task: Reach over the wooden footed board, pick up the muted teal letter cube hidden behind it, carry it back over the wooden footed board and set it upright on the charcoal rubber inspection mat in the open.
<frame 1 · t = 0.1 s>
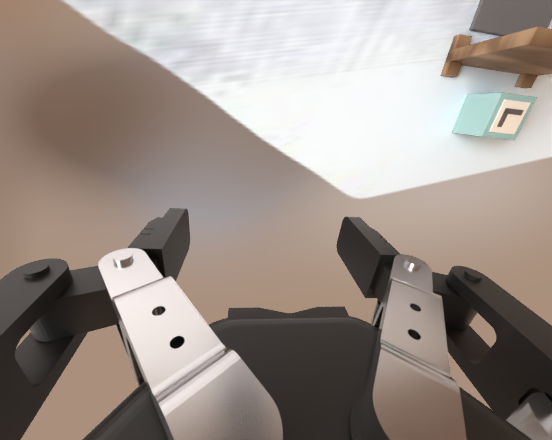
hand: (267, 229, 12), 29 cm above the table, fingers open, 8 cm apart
letter cube: (473, 115, 40), on the table
wooden footed board: (491, 63, 36), on the table
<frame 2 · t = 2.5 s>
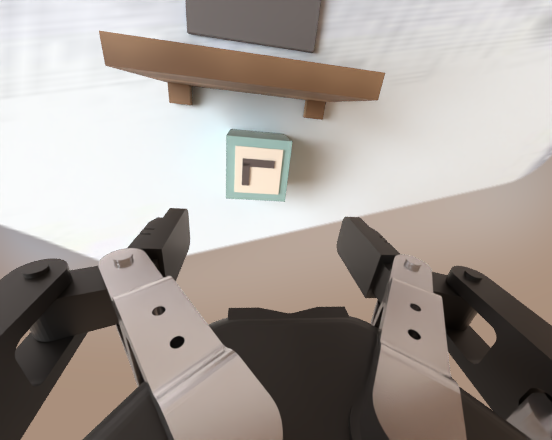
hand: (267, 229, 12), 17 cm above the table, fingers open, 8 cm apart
letter cube: (255, 158, 27), on the table
wooden footed board: (250, 84, 24), on the table
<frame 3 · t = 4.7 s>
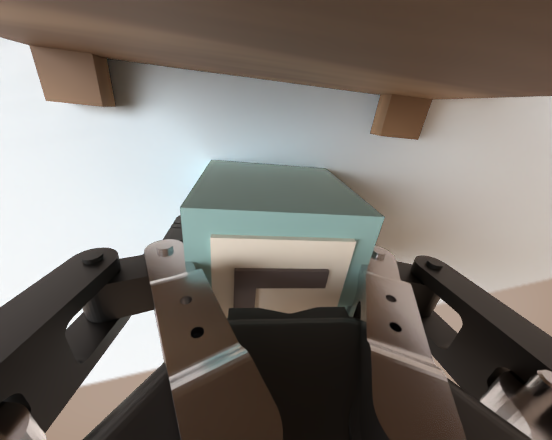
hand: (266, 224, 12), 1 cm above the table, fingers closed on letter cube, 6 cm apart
letter cube: (265, 216, 13), on the table, touching gripper
wooden footed board: (256, 57, 10), on the table
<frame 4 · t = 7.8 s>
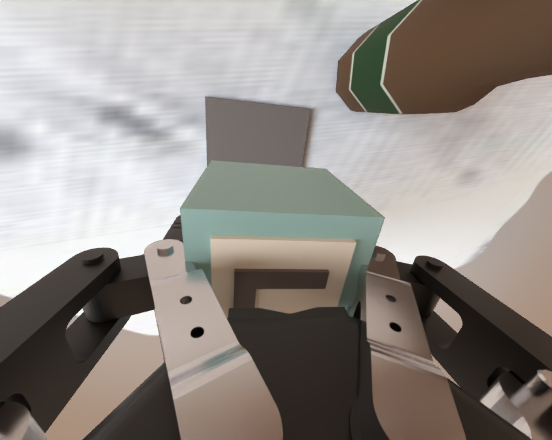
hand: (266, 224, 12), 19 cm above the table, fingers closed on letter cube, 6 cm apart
beer bottle: (364, 76, 27), on the table
letter cube: (265, 216, 13), point 18 cm above the table, touching gripper
inspection mat: (256, 155, 29), on the table
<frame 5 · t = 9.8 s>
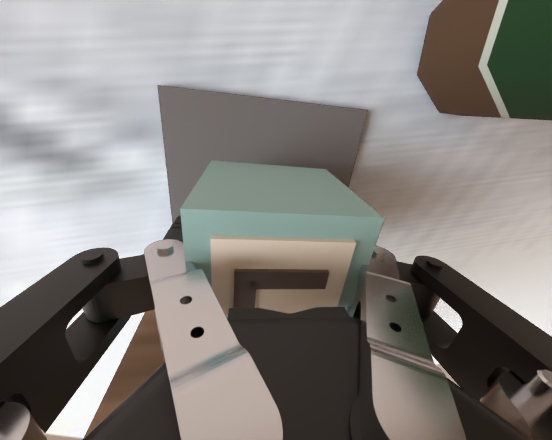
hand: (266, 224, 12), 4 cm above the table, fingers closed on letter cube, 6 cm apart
beer bottle: (472, 47, 14), on the table
letter cube: (265, 216, 13), point 3 cm above the table, touching gripper
inspection mat: (261, 194, 16), on the table
wooden footed board: (253, 294, 20), on the table
when the fingers open (3 cm above the table, at t = 11.1 s): letter cube drops 1 cm, resting on inspection mat.
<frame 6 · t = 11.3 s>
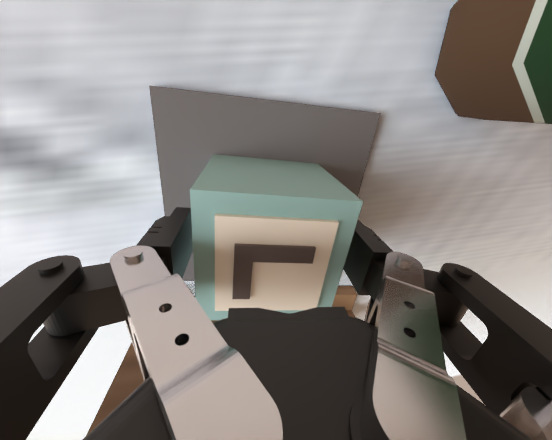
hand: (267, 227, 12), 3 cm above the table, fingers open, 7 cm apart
beer bottle: (495, 44, 13), on the table
letter cube: (263, 207, 14), point 1 cm above the table, touching inspection mat
inspection mat: (263, 203, 15), on the table
wooden footed board: (254, 308, 19), on the table
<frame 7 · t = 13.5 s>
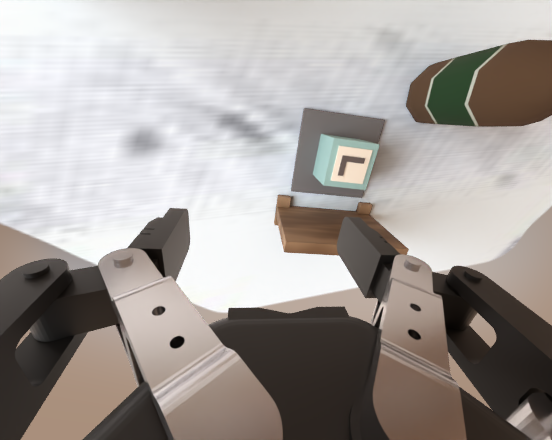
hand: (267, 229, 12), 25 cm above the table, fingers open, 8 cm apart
beer bottle: (429, 95, 33), on the table
letter cube: (335, 157, 35), point 1 cm above the table, touching inspection mat
inspection mat: (334, 156, 35), on the table
wooden footed board: (322, 212, 39), on the table
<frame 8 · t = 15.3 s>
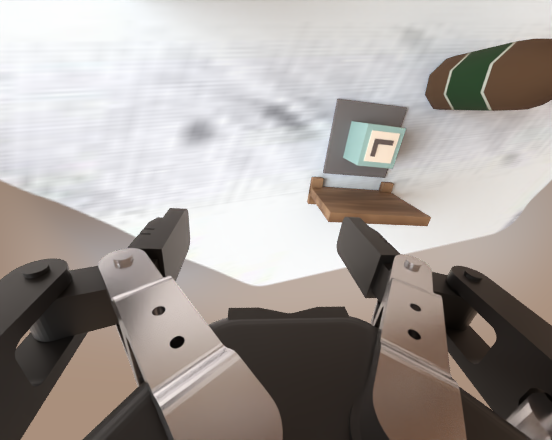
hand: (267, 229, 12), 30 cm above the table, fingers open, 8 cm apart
beer bottle: (445, 84, 38), on the table
letter cube: (363, 141, 40), point 1 cm above the table, touching inspection mat
inspection mat: (362, 141, 41), on the table
wooden footed board: (349, 192, 45), on the table
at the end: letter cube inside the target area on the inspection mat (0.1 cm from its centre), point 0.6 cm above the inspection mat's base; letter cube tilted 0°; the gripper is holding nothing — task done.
